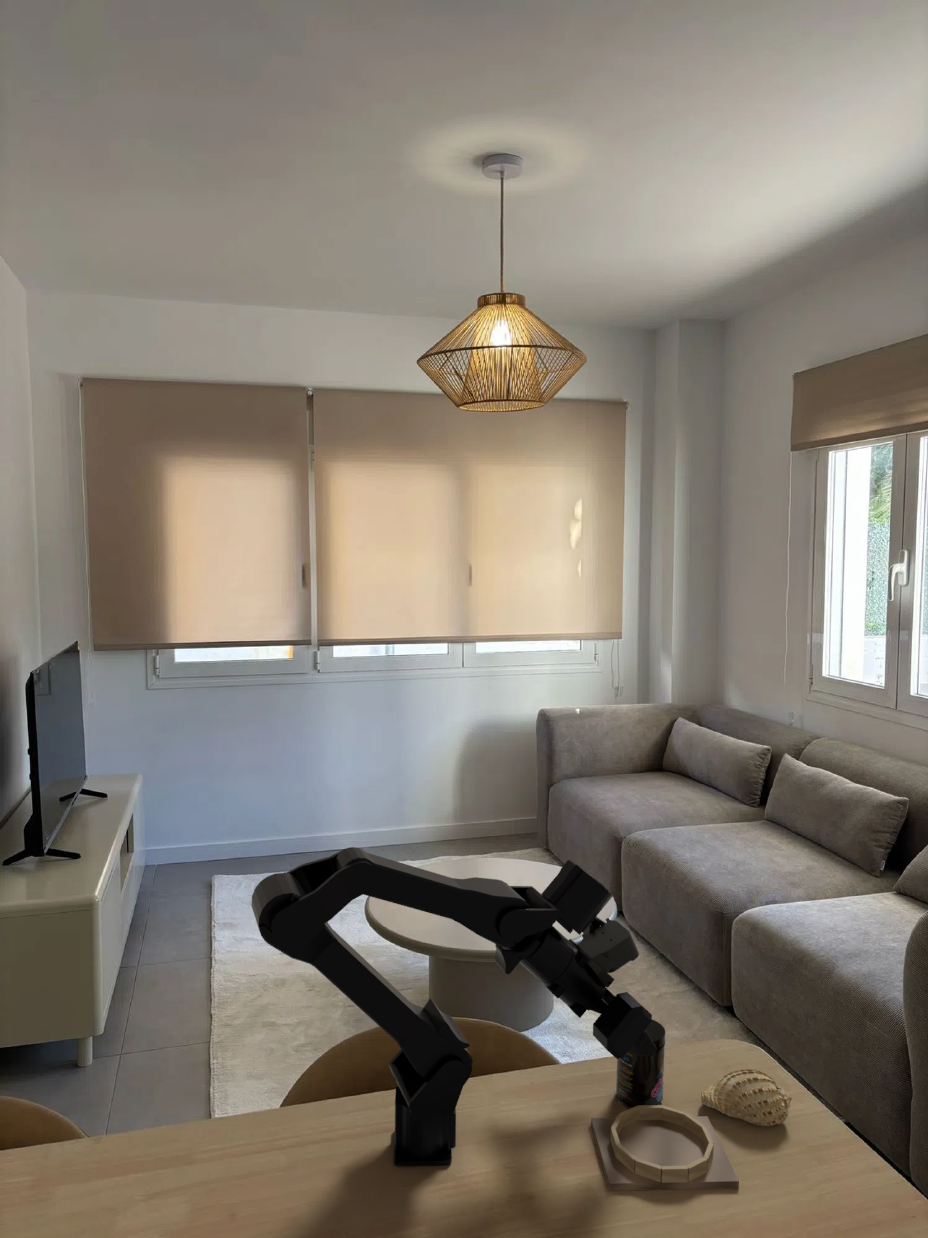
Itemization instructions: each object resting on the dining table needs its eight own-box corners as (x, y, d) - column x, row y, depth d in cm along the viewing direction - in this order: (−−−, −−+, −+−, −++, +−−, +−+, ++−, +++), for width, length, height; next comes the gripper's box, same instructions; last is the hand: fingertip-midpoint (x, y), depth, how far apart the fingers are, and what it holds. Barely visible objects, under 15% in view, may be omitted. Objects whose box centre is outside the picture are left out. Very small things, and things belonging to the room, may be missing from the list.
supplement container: (649, 1119, 109) (651, 1047, 108) (606, 1100, 113) (608, 1030, 112) (671, 1096, 114) (673, 1027, 113) (629, 1078, 117) (631, 1011, 117)
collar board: (609, 1190, 97) (610, 1170, 97) (590, 1124, 108) (591, 1106, 108) (738, 1188, 98) (739, 1168, 97) (707, 1122, 109) (707, 1104, 108)
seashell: (727, 1158, 107) (805, 1124, 107) (707, 1115, 106) (785, 1080, 106) (708, 1117, 114) (781, 1084, 114) (689, 1076, 114) (762, 1043, 114)
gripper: (638, 940, 100) (719, 1018, 105) (563, 879, 118) (636, 949, 122) (573, 1021, 98) (659, 1097, 103) (506, 947, 116) (582, 1015, 120)
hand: (633, 1032), depth 112 cm, fingers open, 9 cm apart
